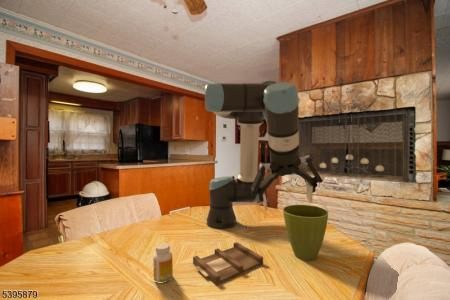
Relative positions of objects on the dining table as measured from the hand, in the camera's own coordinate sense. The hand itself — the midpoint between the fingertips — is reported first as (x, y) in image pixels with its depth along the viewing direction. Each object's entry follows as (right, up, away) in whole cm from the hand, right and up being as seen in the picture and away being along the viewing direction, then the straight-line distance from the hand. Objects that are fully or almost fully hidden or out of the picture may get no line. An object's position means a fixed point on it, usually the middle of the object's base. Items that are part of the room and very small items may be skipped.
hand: (287, 203), depth 67 cm
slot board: (-18, -21, +5) cm, 28 cm away
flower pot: (+9, -21, +9) cm, 24 cm away
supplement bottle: (-38, -22, -3) cm, 43 cm away
